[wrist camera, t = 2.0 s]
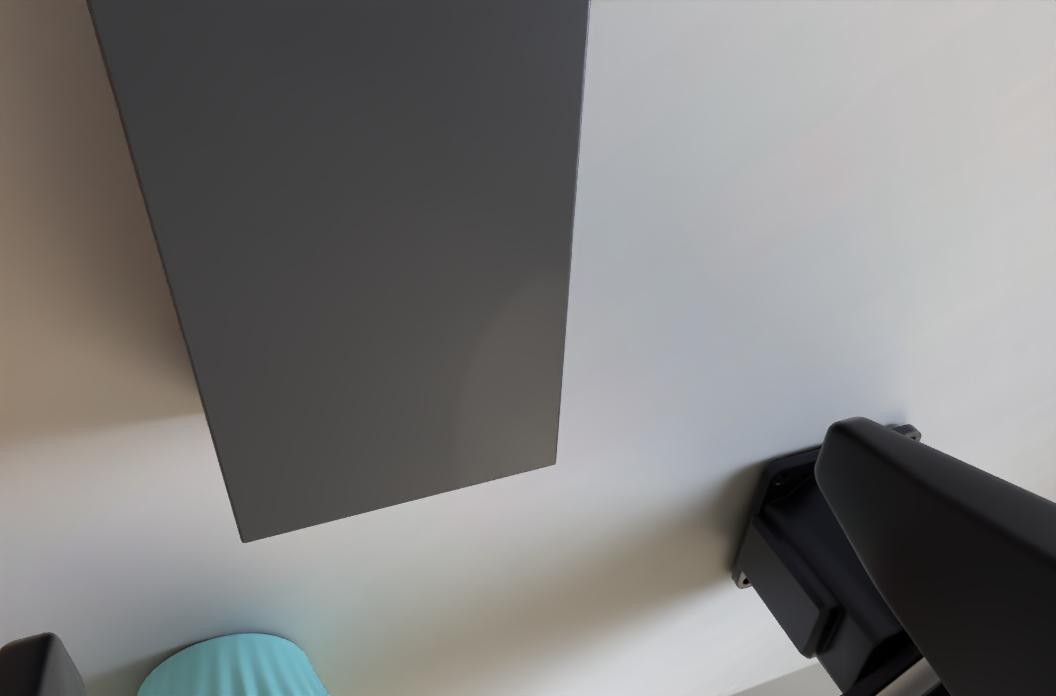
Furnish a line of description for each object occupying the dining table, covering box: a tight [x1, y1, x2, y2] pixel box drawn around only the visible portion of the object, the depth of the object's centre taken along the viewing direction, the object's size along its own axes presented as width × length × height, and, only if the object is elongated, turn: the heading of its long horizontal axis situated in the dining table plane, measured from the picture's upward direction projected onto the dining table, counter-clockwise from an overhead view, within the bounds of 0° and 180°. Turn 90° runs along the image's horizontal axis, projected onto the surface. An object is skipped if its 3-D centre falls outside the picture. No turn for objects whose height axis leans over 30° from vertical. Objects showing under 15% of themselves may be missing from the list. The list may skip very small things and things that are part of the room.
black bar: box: [86, 0, 591, 543], centre depth 14 cm, size 6×10×4 cm, turn 178°
